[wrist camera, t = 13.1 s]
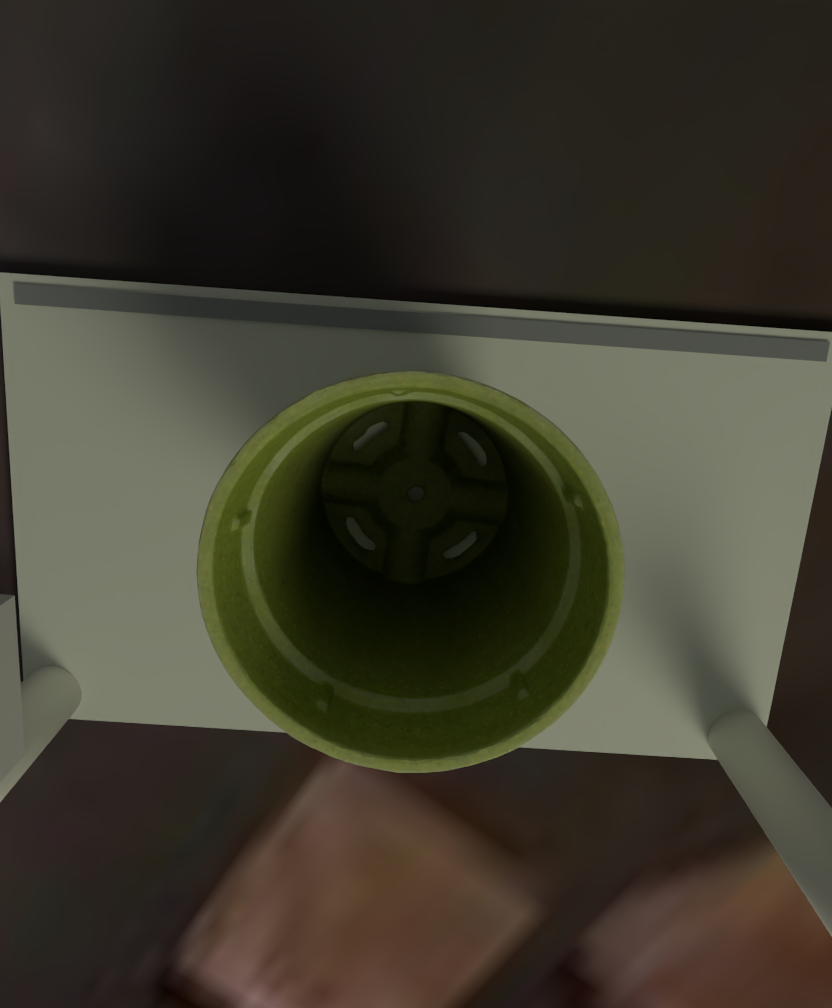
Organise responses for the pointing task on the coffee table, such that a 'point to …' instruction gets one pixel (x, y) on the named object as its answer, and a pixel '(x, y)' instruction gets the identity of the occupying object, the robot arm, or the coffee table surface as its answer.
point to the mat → (422, 347)
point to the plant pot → (410, 572)
